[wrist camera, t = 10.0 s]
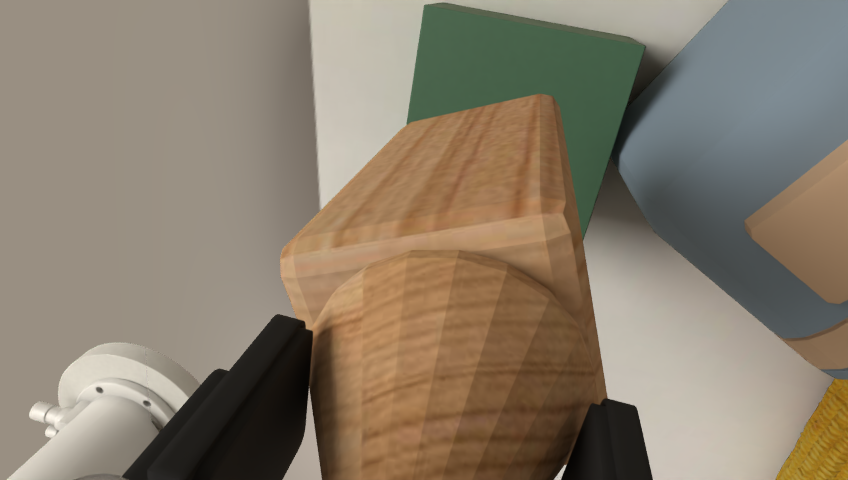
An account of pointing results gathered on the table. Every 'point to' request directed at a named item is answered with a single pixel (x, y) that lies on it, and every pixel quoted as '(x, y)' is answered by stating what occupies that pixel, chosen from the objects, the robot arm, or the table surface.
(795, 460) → the food
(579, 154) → the green block
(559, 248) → the decorative item
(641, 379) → the table surface
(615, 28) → the table surface
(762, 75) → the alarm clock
